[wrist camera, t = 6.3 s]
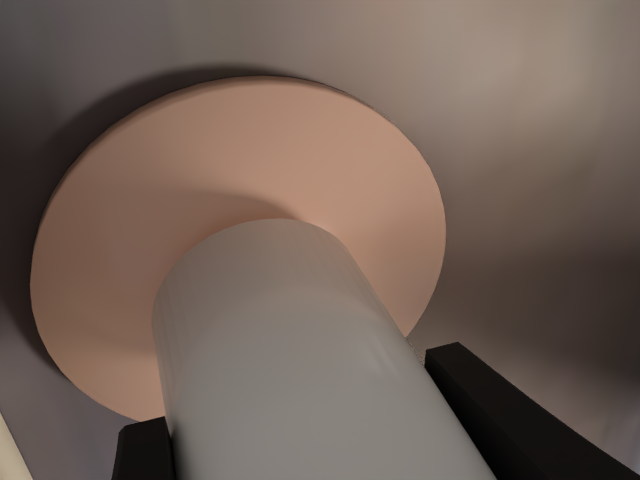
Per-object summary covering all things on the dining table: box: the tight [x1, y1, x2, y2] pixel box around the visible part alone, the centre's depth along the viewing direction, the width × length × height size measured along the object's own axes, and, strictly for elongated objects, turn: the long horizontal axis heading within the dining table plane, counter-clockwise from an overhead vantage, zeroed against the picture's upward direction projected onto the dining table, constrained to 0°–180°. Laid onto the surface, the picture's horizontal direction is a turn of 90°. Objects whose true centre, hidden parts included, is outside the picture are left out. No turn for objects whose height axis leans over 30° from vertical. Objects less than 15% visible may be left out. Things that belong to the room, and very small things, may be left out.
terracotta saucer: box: [30, 75, 446, 422], centre depth 14 cm, size 9×9×1 cm
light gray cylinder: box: [151, 218, 497, 480], centre depth 10 cm, size 4×4×7 cm
